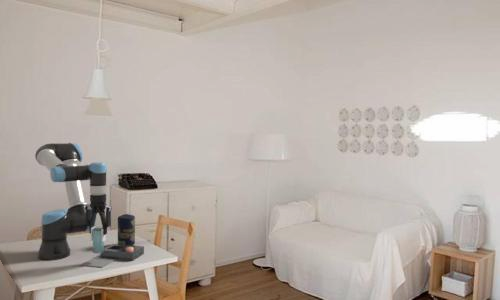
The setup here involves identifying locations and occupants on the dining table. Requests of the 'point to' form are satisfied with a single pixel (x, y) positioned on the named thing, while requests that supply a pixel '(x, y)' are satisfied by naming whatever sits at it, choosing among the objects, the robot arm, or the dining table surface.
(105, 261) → the mat
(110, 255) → the housing
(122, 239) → the canister
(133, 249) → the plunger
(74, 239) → the dining table surface
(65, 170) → the robot arm
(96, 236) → the cylinder
